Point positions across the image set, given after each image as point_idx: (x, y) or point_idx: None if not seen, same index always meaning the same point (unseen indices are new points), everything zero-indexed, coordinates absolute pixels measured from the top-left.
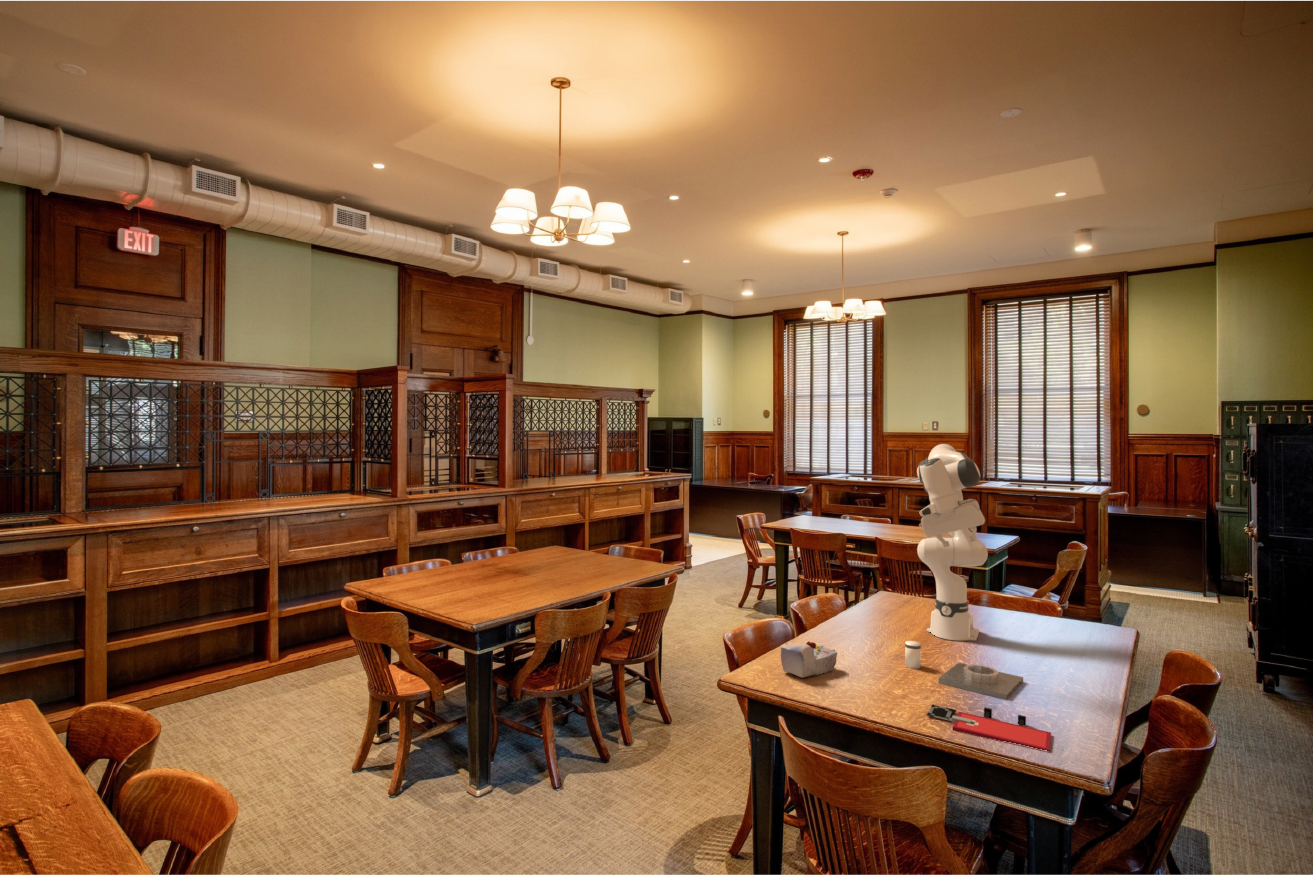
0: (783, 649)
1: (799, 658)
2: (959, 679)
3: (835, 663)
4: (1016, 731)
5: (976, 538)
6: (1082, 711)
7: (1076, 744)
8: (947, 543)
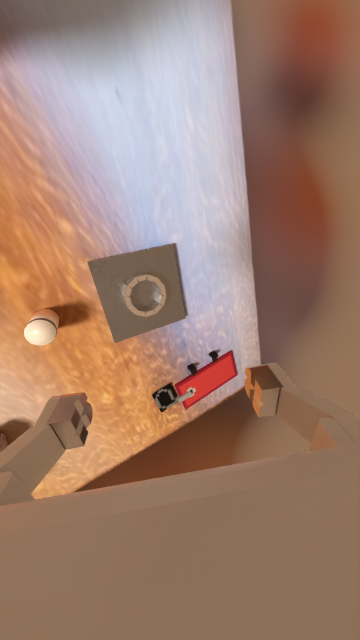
0: None
1: None
2: (131, 323)
3: (3, 438)
4: (216, 372)
5: (279, 367)
6: (234, 280)
7: (244, 347)
8: (82, 421)
